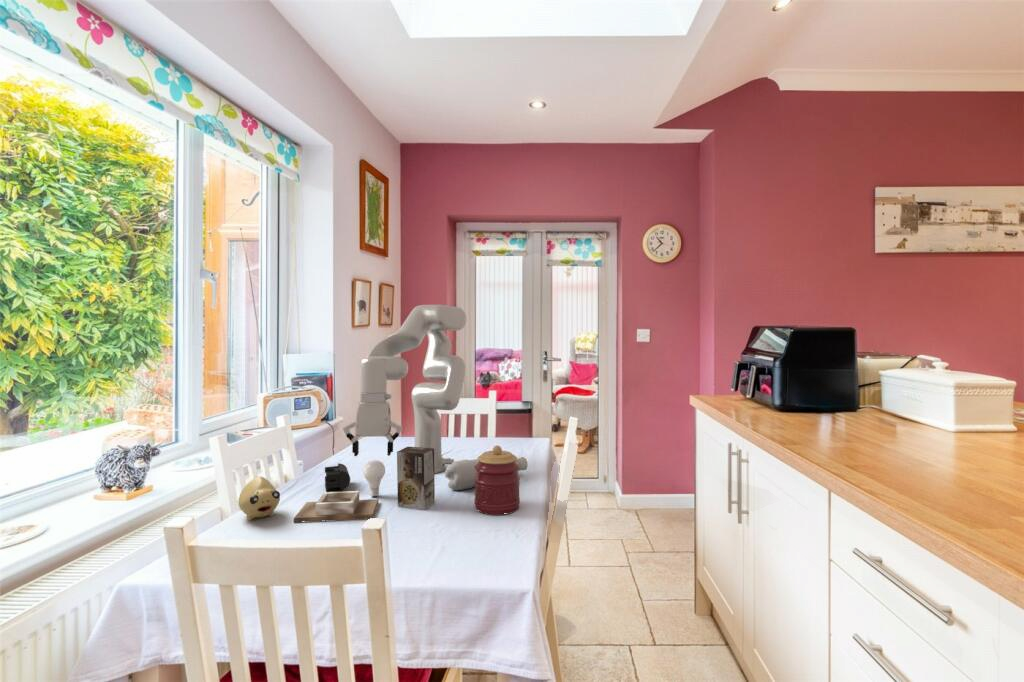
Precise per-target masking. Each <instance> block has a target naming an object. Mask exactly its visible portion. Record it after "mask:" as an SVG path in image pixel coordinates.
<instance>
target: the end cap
mask: <svg viewBox="0 0 1024 682" xmlns="http://www.w3.org/2000/svg"><path fill="white" fill-rule="evenodd" d="M324 474H325V476H324V483H325V484H324V488H325V492H344V491H345V490H346V489H347V488H348V487H349V485H350V484H351V476H350V474H349V470H348V467H347V466H346V465H345V464H343V463H337V465H333V466H326V467H324Z"/></svg>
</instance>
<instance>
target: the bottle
mask: <svg viewBox="0 0 1024 682" xmlns="http://www.w3.org/2000/svg"><path fill="white" fill-rule="evenodd" d="M478 462H479V461H478V460H477V458H475V459H461V460H454V462H453V463H452V464H451V465H449V464H448V466H446V469H445V470H444V477H445V478H446V479H448V480H449V481H448V483H447V486H448V488H449V489H451V490H452V491H455V492H457V490H458V491H462V490H467V489H471V488H473V487H475V480H474V478H475V476H476V470H475V468H474V466H475V465H476V464H477V463H478ZM516 463H518V464H519V465H520V468H519V470H518V472H519V471H526V470H527V469H528V467H529V466H528V465H529V463H528V461H527V459H526V458H525V457H524V456H521V457H519V458H518V457H517V460H516Z"/></svg>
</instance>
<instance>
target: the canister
mask: <svg viewBox="0 0 1024 682" xmlns="http://www.w3.org/2000/svg"><path fill="white" fill-rule="evenodd" d="M476 459H477V460H478V461H479V462H478V463H477V464H476V465H475V466H474V468H475V470H476V476H475V478H474V480H475V486H474V502H473V503H474V505H475V507H476V508H475V507H474V508H475V509H477V510H476V511H478V510H479V511H481V512H483V513H482V514H484V513H487V514H486V515H490V514H503V515H505V514H504V513H509V514H511V512H512V513H514V511H515V512H516V511H517V510H519V508H520V503H521V497H520V480H521V477H520V475H519V471H520V470H519V468H520V465H519V464H518V463H516V460H517V459H518V457H517V456H516V455H514V454H513V453H512V452H510V451H508V450H503V449H502V447H501V446H500V445H495V446H493V448H492V450H488V451H485V452H483V453H482V454H480V455H479V456H477V458H476ZM518 470H519V471H518ZM479 511H478V512H479ZM481 512H480V513H481Z"/></svg>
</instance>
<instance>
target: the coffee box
mask: <svg viewBox="0 0 1024 682" xmlns="http://www.w3.org/2000/svg"><path fill="white" fill-rule="evenodd" d="M396 470H397V471H396V472H397V473H396V475H397V477H396V478H397V479H396V481H397V486H396V487H397V507H398V508H405V509H413V510H421V511H423V510H424V511H426V510H427V509H428V508H430V507H431V506H433V505H434V504H435V501H436V500H435V499H436V497H435V496H436V495H435V491H436V489H435V473H434V448H421V447H415V446H406V447H404V448H401V449H399V450H398V451H397V450H396Z"/></svg>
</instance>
